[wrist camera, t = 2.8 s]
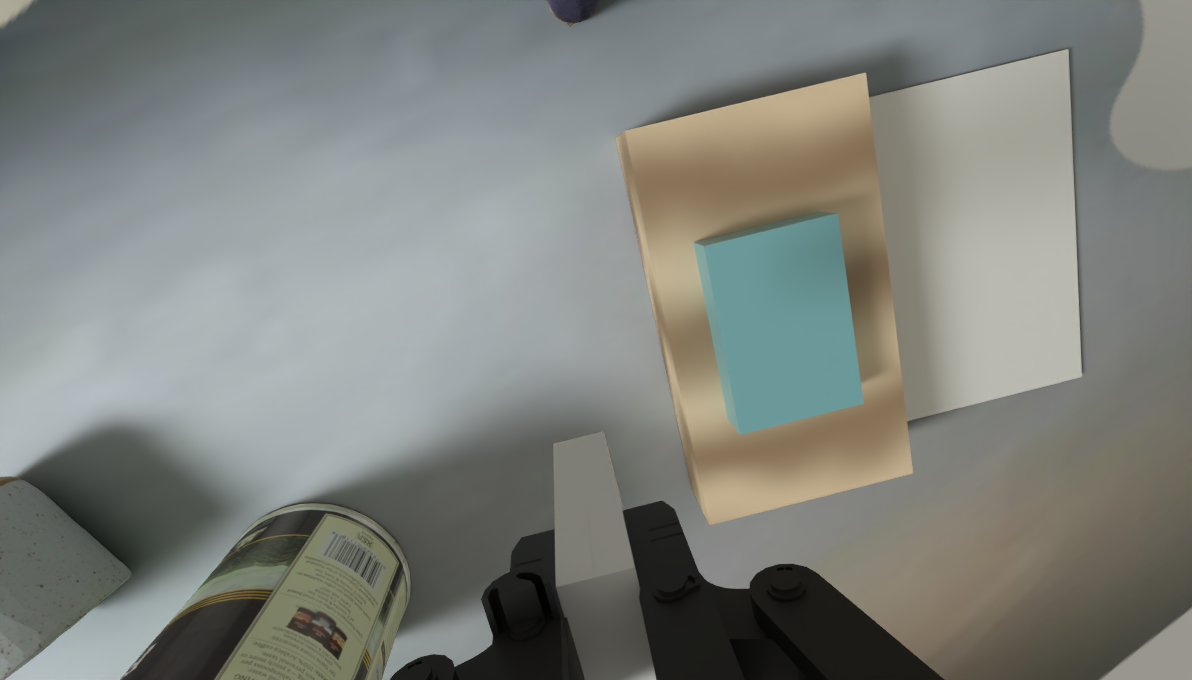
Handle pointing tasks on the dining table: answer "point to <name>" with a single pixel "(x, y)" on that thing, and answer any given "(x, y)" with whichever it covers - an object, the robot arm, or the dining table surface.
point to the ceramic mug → (45, 573)
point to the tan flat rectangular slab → (746, 200)
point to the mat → (981, 232)
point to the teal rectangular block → (781, 321)
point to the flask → (572, 10)
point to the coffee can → (290, 604)
